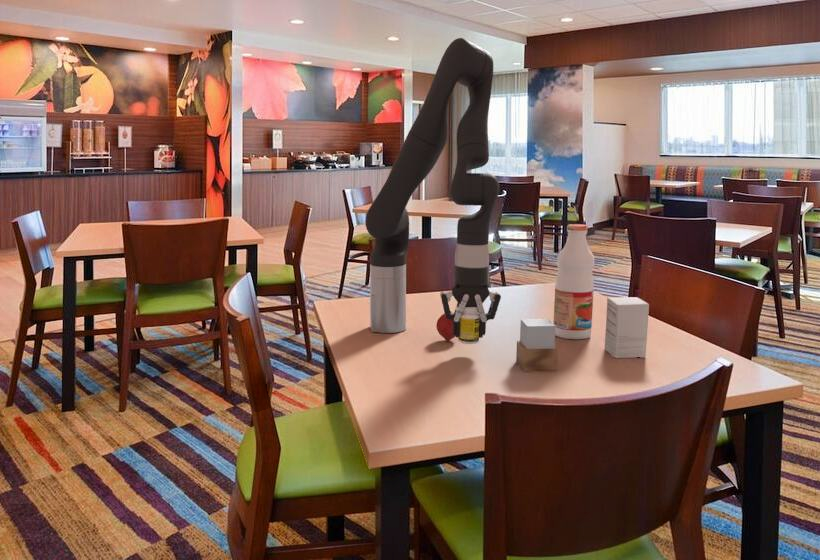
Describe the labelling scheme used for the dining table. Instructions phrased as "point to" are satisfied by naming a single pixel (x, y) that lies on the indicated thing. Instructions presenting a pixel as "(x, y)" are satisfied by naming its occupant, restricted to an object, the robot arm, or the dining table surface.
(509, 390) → the dining table surface
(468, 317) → the supplement bottle
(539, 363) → the bottom block
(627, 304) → the supplement box
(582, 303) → the fruit juice
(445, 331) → the onion
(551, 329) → the top block
